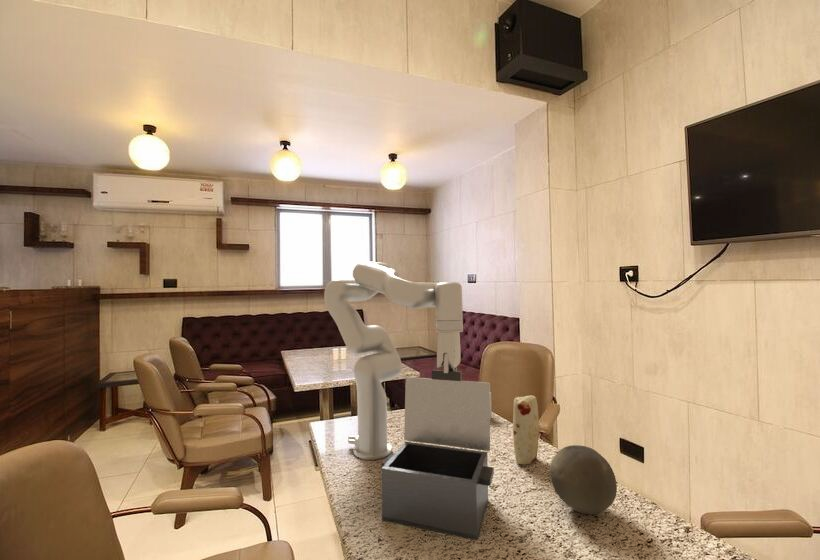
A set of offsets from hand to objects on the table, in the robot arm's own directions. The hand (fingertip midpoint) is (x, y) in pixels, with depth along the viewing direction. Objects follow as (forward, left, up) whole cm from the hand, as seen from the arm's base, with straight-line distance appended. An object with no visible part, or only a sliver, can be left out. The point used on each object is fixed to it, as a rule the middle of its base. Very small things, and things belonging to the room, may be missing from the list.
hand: (451, 392), depth 107 cm
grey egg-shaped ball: (+33, -5, -25) cm, 41 cm away
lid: (0, -5, -3) cm, 6 cm away
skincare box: (-2, +56, -25) cm, 61 cm away
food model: (+19, +18, -25) cm, 36 cm away
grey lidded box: (0, -15, -24) cm, 29 cm away
